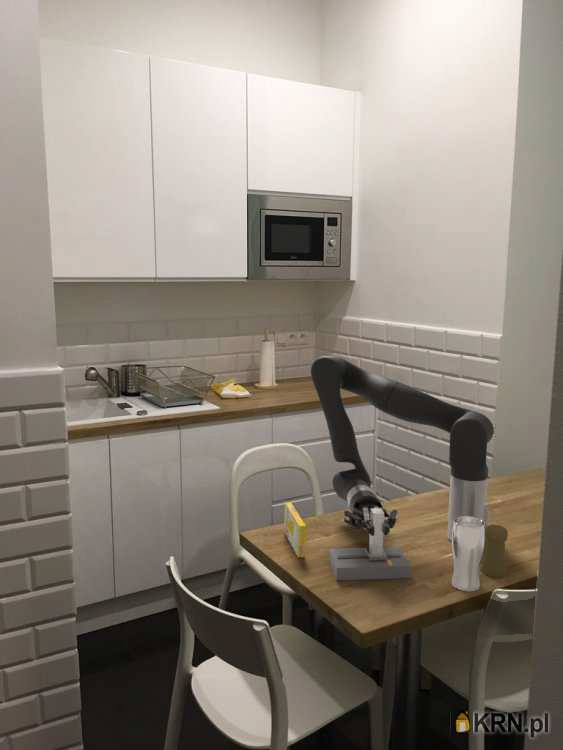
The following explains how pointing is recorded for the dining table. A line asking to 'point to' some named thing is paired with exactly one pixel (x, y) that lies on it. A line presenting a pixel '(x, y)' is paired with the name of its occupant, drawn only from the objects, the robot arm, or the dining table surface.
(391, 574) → the fader console
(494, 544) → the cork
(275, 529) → the dining table surface
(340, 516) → the dining table surface
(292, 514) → the candy box
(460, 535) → the beer glass
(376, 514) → the slider tab
